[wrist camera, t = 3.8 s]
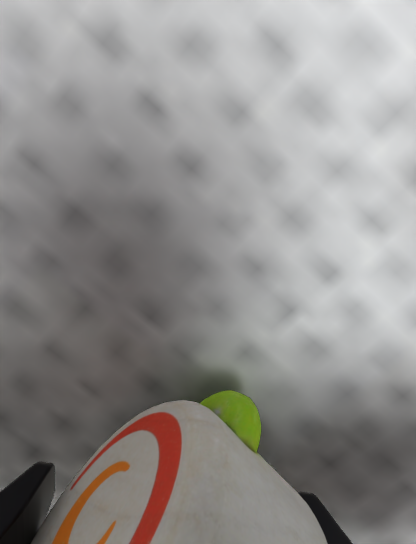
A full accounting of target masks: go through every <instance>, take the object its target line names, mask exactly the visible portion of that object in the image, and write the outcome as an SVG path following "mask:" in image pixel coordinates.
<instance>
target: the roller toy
mask: <svg viewBox="0 0 416 544" xmlns="http://www.w3.org/2000/svg"><path fill="white" fill-rule="evenodd" d="M260 436H261V422H260V416H259V413H258V410H257V408H256V406H255V404H254V403H253V401H252V400H251V399H250V398H249V397H247V396H245V395H243V394H241V393H238V392H235V391H232V390H227V391H221V392H218V393H215V394H213V395H211V396H210V397H208V398H206V399H204V400H203V401H202V402H201V403H200V404H199V403H197V402H192V401H187V400H178V401H170V402H165V403H162V404H159V405H156V406H153V407H151V408H149V409H147V410H145V411H143V412H141V413H140V414H138V415H137V416H135V417H134V418H133V419H131V420H130V421H128V422H127V423H126V424H125V425H123V426H122V427H121V428H120V429H118V430H117V431H116V432H115V433H114V434H113V435H112V436H111V437H110V438H109V439H108V440H107V441H106V442H105V443H104V444H103V445H102V446H101V447H100V448H99V449H98V450H97V451H96V452H95V453H94V454H93V456H92V457H91V458H90V459H89V460H88V461H87V462H86V464H85V465H84V466H83V467H82V468H81V470H80V471H79V472H78V473H77V475H76V476H75V477H74V479H73V480H72V481H71V483H70V484H69V485H68V486H67V488H66V489H65V491H64V492H63V493H62V495H61V496H60V498H59V499H58V501H57V502H56V504H55V505H54V506H53V508H52V509H51V511H50V512H49V514H48V516H47V517H46V519H45V520H44V522H43V524H42V525H41V527H40V528H39V530H38V532H37V534H36V535H35V537H34V539H33V541H32V542H31V544H328V543H327V541H326V538H325V535H324V533H323V531H322V529H321V527H320V525H319V523H318V521H317V519H316V517H315V515H314V514H313V512H312V510H311V509H310V507H309V506H308V504H307V503H306V502H305V501H304V500H303V498H302V497H301V496H300V495H299V494H298V493H297V491H296V490H295V489H293V488H292V487H291V486H290V485H289V484H288V483H287V482H286V481H285V480H284V479H283V478H282V477H281V476H280V475H279V474H278V473H277V472H276V471H275V470H274V469H273V468H272V467H271V466H270V465H269V464H268V463H267V462H266V461H265V460H264V459H263V458H262V457H261V456H260V455H259V454H258V453H257V449H258V446H259V442H260Z"/></svg>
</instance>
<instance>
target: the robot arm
mask: <svg viewBox="0 0 416 544" xmlns="http://www.w3.org/2000/svg"><path fill="white" fill-rule="evenodd" d="M54 491H55V466H54V464H52V463H46V462H37V463H35V464H34V465H33V466H32V467H30V468H29V469H28V470H27V471H25V472H24V473H23V474H22V475H20V476H19V477H18V478H17V479H16V480H14V481H13V482H12V483H11V484H9V485H8V486H7V487H6V488H5V489H3V490H2V491H1V492H0V544H31V542H32V541H33V539H34V537H35V535H36V534H37V532H38V530H39V528H40V527H41V525H42V524H43V522H44V520H45V518H46V515H47V512H48V510H49V507H50V504H51V502H52V499H53V496H54ZM298 494H299V495H300V496H301V497H302V498H303V500H304V501H305V502H306V503H307V504H308V506H309V507H310V509H311V510H312V512H313V514H314V515H315V517H316V519H317V521H318V523H319V525H320V527H321V529H322V531H323V533H324V535H325V538H326V541H327V543H328V544H352V542H351V541H350V540H349V538H348V537H347V536H346V534H345V533H344V532H343V531H342V529H341V528H340V527H339V525H338V524H337V523H336V521H335V520H334V519H333V517H332V516H331V515H330V514H329V512H328V511H327V510H326V508H325V507H324V506H323V504H322V503H321V502H320V500H319V499H318V498H317V497H316V495H314V494H313V493H307V492H298Z"/></svg>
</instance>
